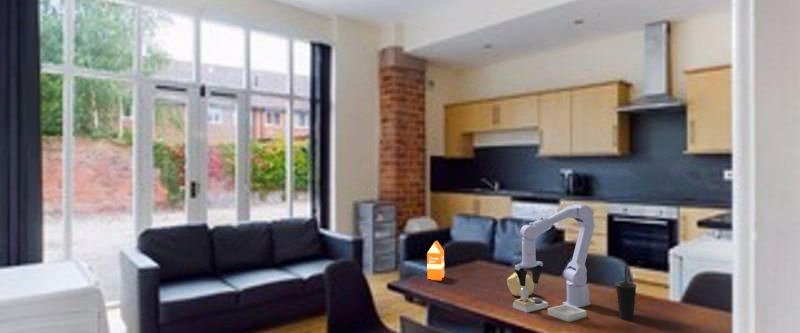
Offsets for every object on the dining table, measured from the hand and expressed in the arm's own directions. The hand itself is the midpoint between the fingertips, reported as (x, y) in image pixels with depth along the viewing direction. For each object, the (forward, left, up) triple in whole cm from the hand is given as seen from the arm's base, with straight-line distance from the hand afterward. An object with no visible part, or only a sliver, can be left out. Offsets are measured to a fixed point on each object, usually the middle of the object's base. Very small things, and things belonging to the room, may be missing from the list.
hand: (529, 284), depth 203 cm
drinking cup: (-22, +31, -10) cm, 39 cm away
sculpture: (-11, -16, -10) cm, 22 cm away
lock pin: (+3, 0, -8) cm, 9 cm away
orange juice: (+4, -65, -10) cm, 66 cm away
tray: (-5, +16, -10) cm, 20 cm away
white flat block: (-1, 0, -10) cm, 10 cm away
